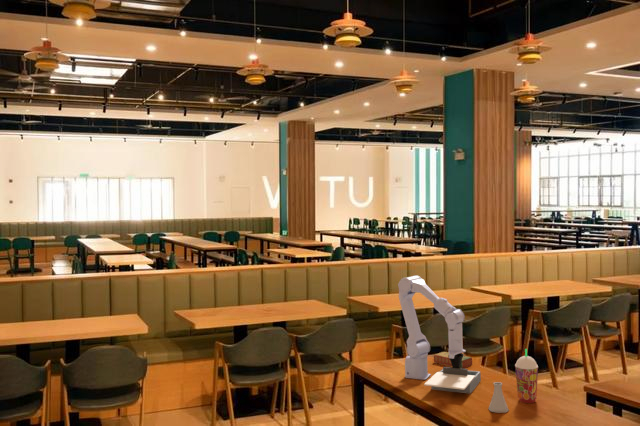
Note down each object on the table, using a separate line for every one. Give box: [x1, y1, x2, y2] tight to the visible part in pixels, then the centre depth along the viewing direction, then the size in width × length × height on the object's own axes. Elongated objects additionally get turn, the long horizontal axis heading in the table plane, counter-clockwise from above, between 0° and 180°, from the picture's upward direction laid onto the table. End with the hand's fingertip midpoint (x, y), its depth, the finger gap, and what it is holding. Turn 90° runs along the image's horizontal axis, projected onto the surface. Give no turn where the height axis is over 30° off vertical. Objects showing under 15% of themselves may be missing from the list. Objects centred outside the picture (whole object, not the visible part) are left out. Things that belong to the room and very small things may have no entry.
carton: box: [433, 351, 473, 369], centre depth 299 cm, size 8×16×4 cm, turn 43°
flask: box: [488, 381, 509, 414], centre depth 235 cm, size 7×7×10 cm
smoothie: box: [514, 348, 539, 404], centre depth 244 cm, size 8×8×20 cm
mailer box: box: [430, 368, 482, 395], centre depth 267 cm, size 16×18×4 cm
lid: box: [424, 366, 475, 390], centre depth 258 cm, size 16×18×3 cm
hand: (456, 371), depth 267 cm, fingers closed
